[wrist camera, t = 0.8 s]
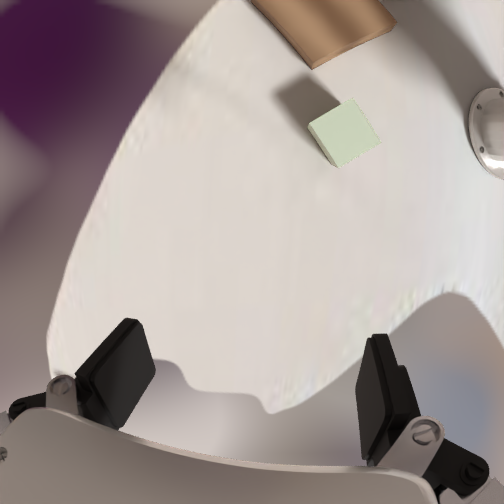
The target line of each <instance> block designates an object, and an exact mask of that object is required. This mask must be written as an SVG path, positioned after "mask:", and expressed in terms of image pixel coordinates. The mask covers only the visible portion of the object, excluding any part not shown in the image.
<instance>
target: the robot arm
mask: <svg viewBox="0 0 504 504" xmlns="http://www.w3.org/2000/svg"><path fill="white" fill-rule="evenodd" d="M469 132H470V138H471V142H472V146H473V148H474V151H475V154H476V156H477V157H478V159H479V161H480V163H481V164H482V166H483V167H484V168H485V169H486V170H487V171H488V172H489V173H490V174H491V175H493V176H494V177H497V178H499V179H503V180H504V90H502V89H499V88H488V89H484V90H482V91H481V92H479V93H478V94H477V95H476V96H475V98H474V100H473V102H472V104H471V107H470V112H469ZM155 371H156V369H155V365H154V362H153V359H152V356H151V353H150V349H149V346H148V343H147V339H146V336H145V332H144V329H143V325H142V324H141V323H140V322H139V321H138V320H137V319H131V318H125V319H124V320H123V321H122V322H121V323H120V324H119V325H118V326H117V327H116V328H115V329H114V330H113V331H112V332H111V334H110V335H109V336H108V337H107V338H106V339H105V340H104V341H103V342H102V343H101V344H100V346H99V347H98V348H97V349H96V350H95V351H94V352H93V353H92V354H91V355H90V357H89V358H88V359H87V360H86V361H85V362H84V363H83V364H82V366H81V367H80V368H79V369H78V370H77V371H76V372H75V375H76V378H75V379H73V378H72V377H71V376H69V375H60V376H57V377H55V378H53V379H52V380H51V381H50V382H49V383H48V385H47V389H46V392H44V393H40V394H36V395H32V396H28V397H24V398H20V399H17V400H16V401H14V402H13V403H12V404H11V406H10V408H9V413H7V411H4V412H2V413H0V504H504V486H503V485H502V484H501V483H500V482H499V481H498V480H497V479H496V478H494V479H491V478H490V477H489V466H488V464H487V463H486V461H485V460H484V459H483V458H481V457H479V456H477V455H475V454H473V453H471V452H469V451H467V450H466V449H464V448H462V447H460V446H458V445H456V444H454V443H452V442H450V441H448V440H447V439H445V438H444V436H445V431H444V427H443V425H442V424H441V423H440V421H438V420H437V419H435V418H433V417H430V416H421V414H420V410H419V407H418V404H417V400H416V397H415V394H414V391H413V387H412V384H411V381H410V378H409V375H408V372H407V369H406V368H405V366H404V365H399V366H398V364H397V361H396V358H395V355H394V352H393V349H392V346H391V343H390V340H389V337H388V335H387V334H373V335H372V337H371V338H367V341H366V346H365V350H364V355H363V359H362V363H361V367H360V371H359V375H358V379H357V383H356V389H355V390H356V391H355V392H356V401H357V411H358V420H359V430H360V440H361V454H362V459H363V460H366V461H367V466H298V465H281V464H268V463H259V462H250V461H242V460H235V459H228V458H222V457H217V456H211V455H206V454H201V453H196V452H191V451H186V450H182V449H178V448H174V447H170V446H166V445H163V444H159V443H155V442H152V441H149V440H145V439H142V438H139V437H136V436H133V435H129V434H126V433H123V432H121V431H118V430H119V428H121V427H123V426H124V424H125V423H126V421H127V419H128V418H129V416H130V414H131V413H132V411H133V409H134V408H135V406H136V405H137V403H138V401H139V400H140V398H141V396H142V394H143V393H144V391H145V390H146V388H147V387H148V385H149V383H150V382H151V380H152V379H153V377H154V375H155ZM371 466H374V467H371Z"/></svg>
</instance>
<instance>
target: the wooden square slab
mask: <svg viewBox="0 0 504 504" xmlns="http://www.w3.org/2000/svg"><path fill="white" fill-rule="evenodd" d="M251 2H252V3H253V4H254V5H255V6H256V7H257V8H258V9H259V10H260V11H261V12H262V13H263V14H264V15H265V16H266V17H267V18H268V20H269V21H270V22H271V23H272V24H273V25H274V26H275V27H276V28H277V29H278V30H279V31H280V32H281V34H282V35H283V36H284V37H285V38H286V39H287V40H288V42H289V43H290V44H291V45H292V46H293V47H294V48H295V50H296V51H297V52H298V53H299V54H300V56H301V57H302V58H303V59H304V61H305V62H306V63H307V64H308V66H309V67H310V68H311V69H312V70H313V69H314V68H316V67H318V66H320V65H322V64H323V63H325V62H327V61H329V60H331V59H333V58H335V57H337V56H338V55H340V54H342V53H344V52H346V51H348V50H350V49H352V48H354V47H356V46H358V45H361V44H363V43H365V42H367V41H369V40H371V39H373V38H376V37H378V36H380V35H382V34H385V33H387V32H389V31H391V30H392V29H393V27H394V26H395V25H396V24H397V21H396V20H395V19H394V18H393V16H392V15H391V14H390V13H389V12H388V11H387V9H386V8H385V7H384V6H383V5H382V4H381V3H380V2H379V1H378V0H251Z"/></svg>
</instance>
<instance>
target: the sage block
mask: <svg viewBox="0 0 504 504" xmlns="http://www.w3.org/2000/svg"><path fill="white" fill-rule="evenodd" d="M307 128H308V129H309V131H310V132H311V134H312V135H313V137H314V138H315V140H316V141H317V143H318V144H319V146H320V147H321V149H322V150H323V152H324V154H325V155H326V157H327V158H328V160H329V161H330V163H331V165H333V166H335V167H337V168H340V167H342V166H343V165H345V164H347V163H348V162H350V161H352V160H353V159H355V158H357V157H358V156H360V155H362V154H363V153H365V152H367V151H368V150H370V149H372V148H373V147H375V146H377V145H379V144H380V143H381V141H380V139H379V138H378V136H377V134H376V133H375V131H374V129H373V128H372V126H371V124H370V123H369V121H368V120H367V118H366V117H365V115H364V113H363V112H362V110H361V109H360V107H359V106H358V104H357V103H356V101H355V100H354V98H351V99H350V100H348V101H346V102H344V103H343V104H341V105H339V106H337V107H336V108H334V109H332V110H330V111H329V112H327V113H325V114H324V115H322V116H320V117H319V118H317V119H315V120H314V121H312V122H310V123H309V125H308V127H307Z"/></svg>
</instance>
